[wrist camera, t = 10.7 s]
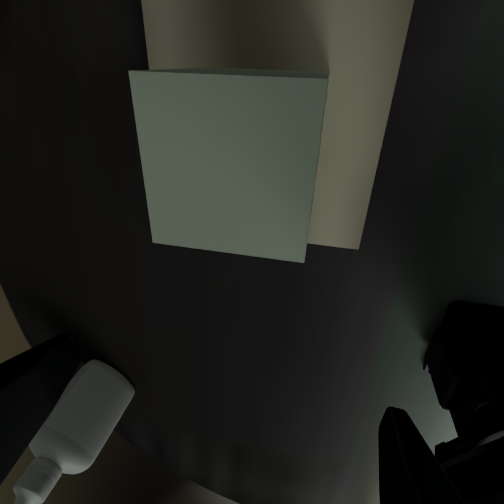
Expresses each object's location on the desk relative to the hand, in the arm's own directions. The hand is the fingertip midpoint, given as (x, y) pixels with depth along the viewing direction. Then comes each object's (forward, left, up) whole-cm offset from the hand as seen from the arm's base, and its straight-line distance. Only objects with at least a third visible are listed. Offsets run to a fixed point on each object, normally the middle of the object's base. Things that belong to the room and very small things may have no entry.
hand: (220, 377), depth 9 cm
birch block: (+1, -5, -13) cm, 14 cm away
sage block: (+1, -5, -9) cm, 10 cm away
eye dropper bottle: (+16, +20, -13) cm, 29 cm away
